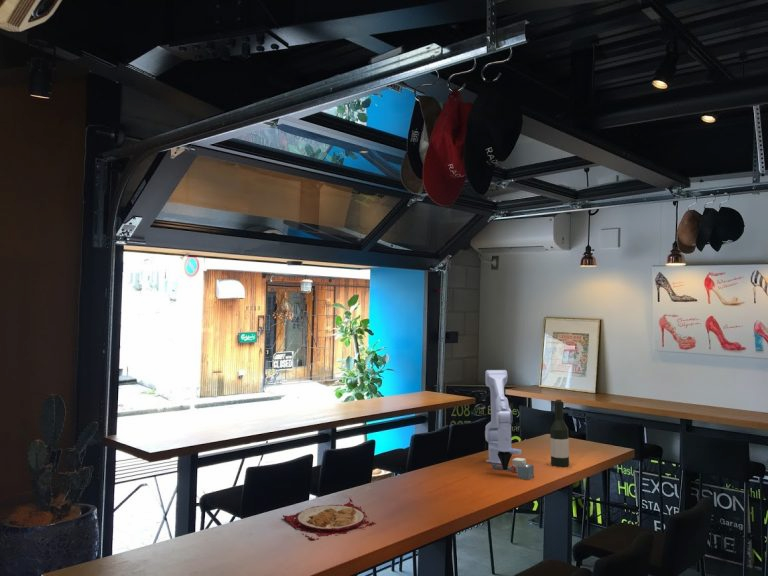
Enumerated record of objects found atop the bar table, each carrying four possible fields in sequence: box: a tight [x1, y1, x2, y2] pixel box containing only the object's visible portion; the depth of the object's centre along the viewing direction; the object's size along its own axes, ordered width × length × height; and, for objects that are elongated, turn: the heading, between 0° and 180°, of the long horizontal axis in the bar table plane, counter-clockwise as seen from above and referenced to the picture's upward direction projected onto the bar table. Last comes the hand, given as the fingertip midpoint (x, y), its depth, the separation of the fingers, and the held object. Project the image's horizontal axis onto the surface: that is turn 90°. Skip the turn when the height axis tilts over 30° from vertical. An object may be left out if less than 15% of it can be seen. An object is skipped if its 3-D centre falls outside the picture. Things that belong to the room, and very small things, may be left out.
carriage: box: [511, 457, 527, 468], centre depth 265 cm, size 5×4×5 cm
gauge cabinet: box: [517, 463, 535, 481], centre depth 256 cm, size 6×5×5 cm
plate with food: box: [282, 497, 377, 541], centre depth 203 cm, size 25×26×4 cm
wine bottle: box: [549, 398, 570, 468], centre depth 277 cm, size 8×8×30 cm
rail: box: [491, 463, 512, 472], centre depth 267 cm, size 3×18×2 cm, turn 57°
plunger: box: [510, 465, 518, 473], centre depth 258 cm, size 3×4×3 cm, turn 57°
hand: (505, 469), depth 261 cm, fingers closed
